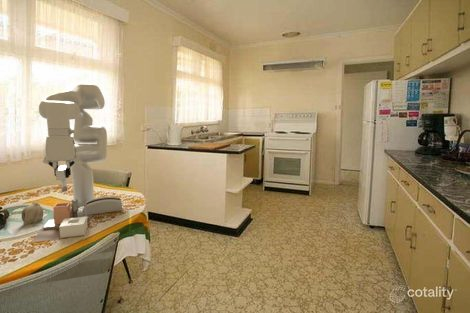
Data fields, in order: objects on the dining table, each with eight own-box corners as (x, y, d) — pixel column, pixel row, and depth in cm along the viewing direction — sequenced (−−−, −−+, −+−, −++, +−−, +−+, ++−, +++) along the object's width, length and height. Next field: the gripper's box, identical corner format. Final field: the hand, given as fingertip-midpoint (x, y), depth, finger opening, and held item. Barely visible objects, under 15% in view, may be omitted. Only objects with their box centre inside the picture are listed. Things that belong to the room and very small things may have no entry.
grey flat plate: (47, 224, 116) (47, 221, 115) (91, 220, 122) (91, 217, 121) (30, 246, 97) (30, 242, 97) (84, 239, 103) (83, 236, 103)
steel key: (62, 188, 115) (60, 165, 113) (70, 187, 116) (68, 165, 114) (57, 194, 108) (55, 170, 106) (66, 193, 109) (64, 170, 107)
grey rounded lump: (32, 225, 120) (32, 203, 122) (50, 223, 120) (50, 200, 121) (13, 227, 111) (14, 203, 113) (33, 225, 110) (33, 200, 112)
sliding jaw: (58, 219, 115) (56, 202, 114) (73, 217, 117) (72, 201, 116) (54, 224, 109) (52, 207, 108) (70, 223, 111) (68, 206, 110)
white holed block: (65, 229, 108) (64, 218, 108) (87, 226, 111) (86, 216, 110) (60, 237, 101) (59, 226, 100) (84, 235, 104) (83, 224, 103)
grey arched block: (121, 209, 136) (122, 193, 132) (123, 215, 133) (123, 198, 129) (84, 214, 128) (83, 197, 124) (84, 221, 125) (83, 203, 120)
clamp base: (49, 222, 115) (47, 199, 113) (88, 218, 120) (87, 196, 118) (43, 229, 107) (41, 205, 106) (85, 225, 113) (84, 202, 111)
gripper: (83, 132, 114) (86, 174, 117) (38, 132, 108) (42, 176, 111) (80, 133, 107) (83, 178, 110) (31, 133, 101) (36, 180, 104)
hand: (63, 177), depth 111 cm, fingers closed on steel key, 2 cm apart
